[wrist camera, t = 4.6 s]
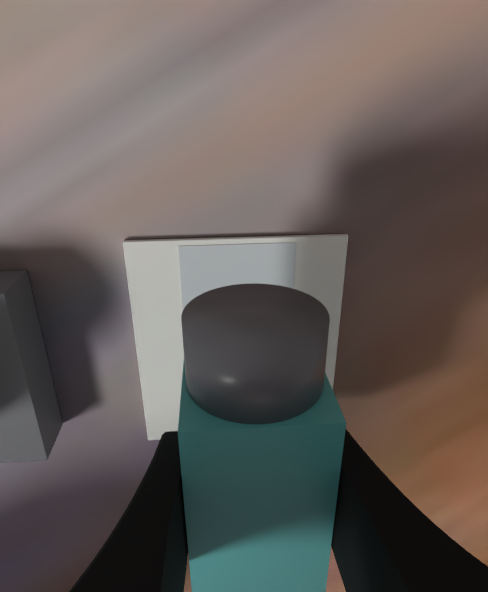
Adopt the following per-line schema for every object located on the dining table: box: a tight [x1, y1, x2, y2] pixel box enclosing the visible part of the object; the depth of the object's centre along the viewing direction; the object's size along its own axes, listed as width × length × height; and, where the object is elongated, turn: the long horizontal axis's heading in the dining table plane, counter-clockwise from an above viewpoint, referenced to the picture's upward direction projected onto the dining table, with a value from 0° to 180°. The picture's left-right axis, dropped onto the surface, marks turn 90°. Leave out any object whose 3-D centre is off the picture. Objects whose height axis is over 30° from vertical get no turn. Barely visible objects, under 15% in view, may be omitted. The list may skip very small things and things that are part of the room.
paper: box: [123, 234, 348, 440], centre depth 18 cm, size 9×8×1 cm
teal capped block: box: [178, 283, 346, 592], centre depth 12 cm, size 9×4×4 cm, turn 0°
